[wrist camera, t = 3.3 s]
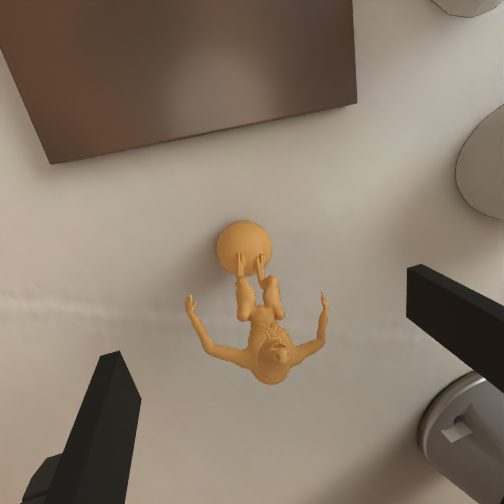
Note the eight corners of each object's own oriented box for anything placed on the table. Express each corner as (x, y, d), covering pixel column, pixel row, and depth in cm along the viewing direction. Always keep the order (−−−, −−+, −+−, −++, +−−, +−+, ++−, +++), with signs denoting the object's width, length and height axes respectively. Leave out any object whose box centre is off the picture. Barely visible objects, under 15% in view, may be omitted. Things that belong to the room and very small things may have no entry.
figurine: (293, 217, 24) (388, 281, 13) (284, 286, 25) (359, 394, 14) (186, 213, 22) (185, 284, 11) (184, 287, 24) (184, 413, 13)
